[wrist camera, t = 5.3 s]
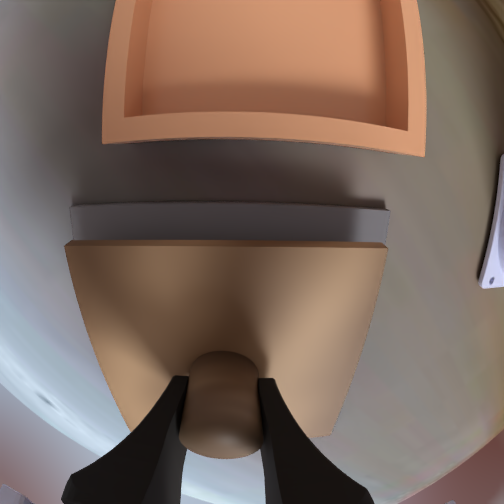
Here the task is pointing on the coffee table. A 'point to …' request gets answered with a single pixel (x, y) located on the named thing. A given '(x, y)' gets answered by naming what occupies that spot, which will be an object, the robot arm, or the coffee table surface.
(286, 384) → the lid
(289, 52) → the dish
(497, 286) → the robot arm
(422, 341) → the coffee table surface
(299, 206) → the mat
